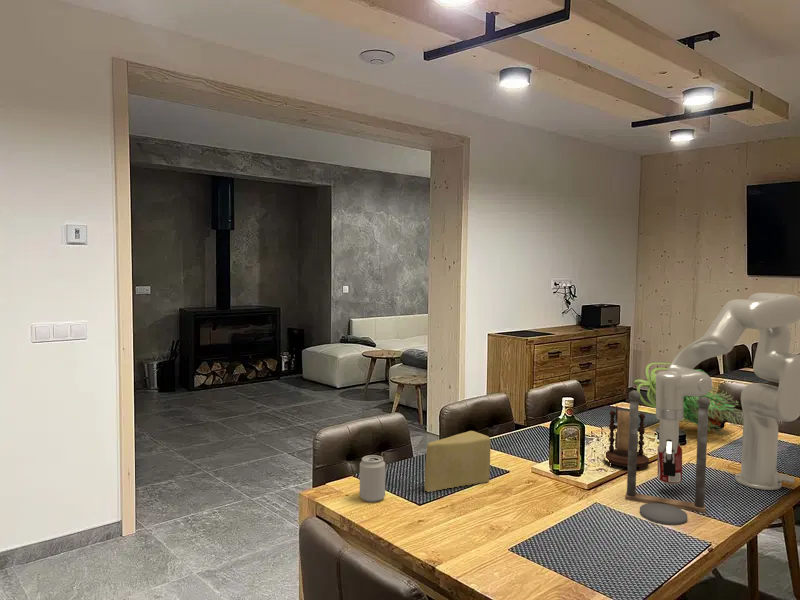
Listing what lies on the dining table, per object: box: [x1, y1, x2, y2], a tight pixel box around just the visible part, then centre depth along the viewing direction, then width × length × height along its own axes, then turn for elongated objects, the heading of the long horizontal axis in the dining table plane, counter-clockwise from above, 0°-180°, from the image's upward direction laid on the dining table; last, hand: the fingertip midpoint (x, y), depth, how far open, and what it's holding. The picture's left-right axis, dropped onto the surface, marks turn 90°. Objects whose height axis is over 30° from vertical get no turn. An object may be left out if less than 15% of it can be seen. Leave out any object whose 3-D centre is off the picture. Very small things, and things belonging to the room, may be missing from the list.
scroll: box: [605, 405, 650, 471], centre depth 207 cm, size 15×15×20 cm
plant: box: [632, 362, 743, 442], centre depth 248 cm, size 35×35×40 cm
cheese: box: [424, 430, 491, 493], centre depth 187 cm, size 22×10×15 cm, turn 125°
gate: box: [624, 389, 711, 514], centre depth 173 cm, size 21×4×32 cm, turn 64°
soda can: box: [656, 441, 683, 486], centre depth 182 cm, size 7×7×12 cm
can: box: [359, 454, 386, 503], centre depth 176 cm, size 8×8×12 cm
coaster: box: [639, 503, 688, 526], centre depth 166 cm, size 12×12×1 cm
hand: (669, 470), depth 182 cm, fingers closed on soda can, 6 cm apart
